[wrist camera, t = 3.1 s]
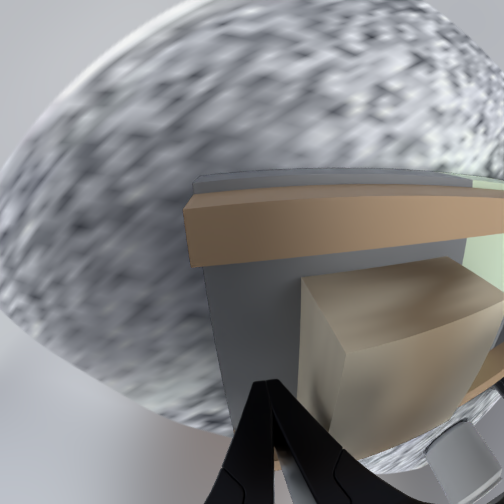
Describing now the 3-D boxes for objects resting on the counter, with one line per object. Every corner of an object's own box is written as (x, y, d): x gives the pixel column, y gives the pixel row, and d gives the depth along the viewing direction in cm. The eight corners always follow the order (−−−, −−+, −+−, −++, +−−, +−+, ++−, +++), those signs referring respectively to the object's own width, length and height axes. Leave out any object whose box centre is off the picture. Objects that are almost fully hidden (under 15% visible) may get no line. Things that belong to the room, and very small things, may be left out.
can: (456, 418, 20) (499, 485, 9) (474, 416, 22) (512, 470, 11) (412, 456, 22) (445, 522, 11) (437, 450, 24) (468, 505, 12)
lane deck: (547, 188, 11) (584, 203, 7) (518, 317, 15) (546, 340, 11) (200, 175, 9) (180, 193, 5) (233, 408, 13) (240, 477, 9)
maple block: (446, 256, 9) (510, 297, 5) (413, 371, 11) (449, 420, 7) (301, 277, 8) (346, 353, 5) (296, 403, 10) (316, 471, 7)
